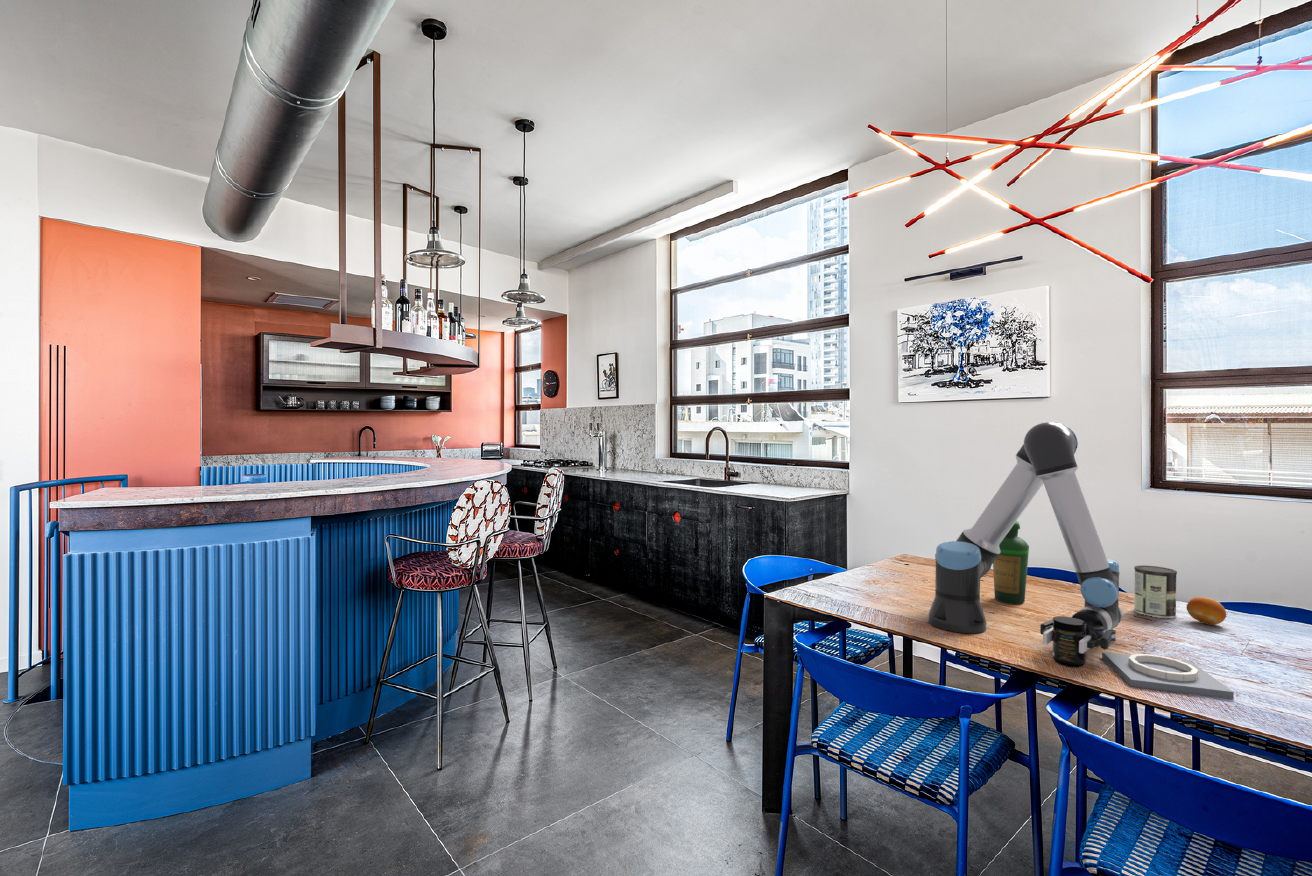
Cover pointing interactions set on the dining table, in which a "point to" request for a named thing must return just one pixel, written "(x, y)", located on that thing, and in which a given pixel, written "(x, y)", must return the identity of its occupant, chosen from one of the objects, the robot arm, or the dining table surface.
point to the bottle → (1011, 568)
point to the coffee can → (1155, 591)
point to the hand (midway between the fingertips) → (1062, 643)
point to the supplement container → (1068, 641)
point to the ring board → (1166, 674)
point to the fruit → (1206, 610)
